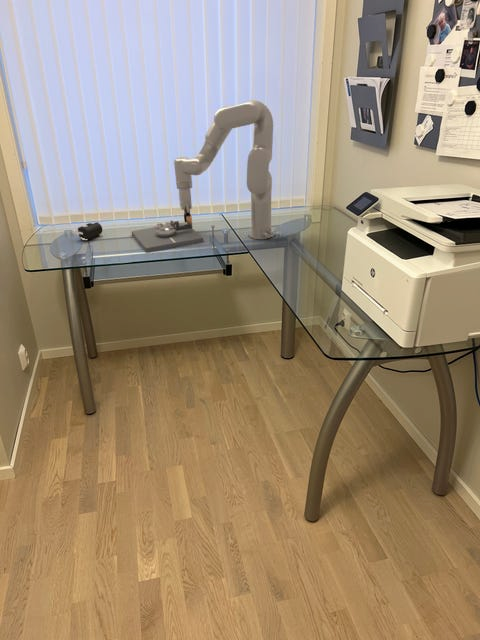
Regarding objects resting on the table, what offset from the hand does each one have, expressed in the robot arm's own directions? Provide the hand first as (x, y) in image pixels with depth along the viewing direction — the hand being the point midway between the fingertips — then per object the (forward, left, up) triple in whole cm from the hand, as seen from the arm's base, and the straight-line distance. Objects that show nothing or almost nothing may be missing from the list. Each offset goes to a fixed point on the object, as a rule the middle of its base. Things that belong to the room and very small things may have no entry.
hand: (187, 221), depth 234 cm
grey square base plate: (-2, +12, -6) cm, 14 cm away
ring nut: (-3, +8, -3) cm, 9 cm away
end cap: (+18, +45, -6) cm, 49 cm away
